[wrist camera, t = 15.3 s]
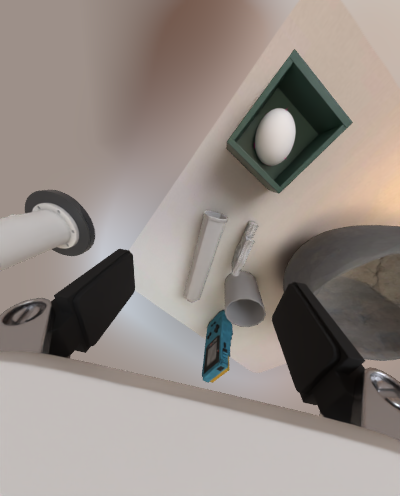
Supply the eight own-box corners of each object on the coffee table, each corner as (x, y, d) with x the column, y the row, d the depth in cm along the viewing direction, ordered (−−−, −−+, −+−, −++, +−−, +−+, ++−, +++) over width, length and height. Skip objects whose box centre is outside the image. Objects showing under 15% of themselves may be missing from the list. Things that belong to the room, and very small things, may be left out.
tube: (201, 306, 42) (231, 221, 30) (182, 306, 40) (206, 216, 29) (198, 292, 46) (223, 213, 35) (180, 291, 45) (201, 208, 33)
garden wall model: (248, 219, 34) (252, 227, 28) (256, 221, 34) (262, 230, 28) (230, 263, 39) (231, 276, 34) (236, 265, 39) (238, 279, 34)
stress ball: (275, 163, 31) (310, 157, 25) (244, 171, 28) (275, 166, 23) (275, 116, 28) (315, 97, 22) (241, 121, 25) (275, 101, 19)
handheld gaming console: (221, 308, 46) (220, 362, 33) (233, 313, 47) (236, 369, 33) (206, 325, 51) (199, 379, 37) (216, 330, 51) (213, 386, 38)
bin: (268, 190, 31) (279, 193, 25) (226, 148, 29) (226, 141, 23) (324, 134, 26) (353, 122, 20) (277, 79, 24) (294, 48, 18)
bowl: (428, 235, 30) (592, 284, 17) (338, 314, 41) (393, 381, 28) (313, 191, 30) (386, 205, 16) (253, 282, 41) (268, 335, 27)
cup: (220, 289, 43) (219, 318, 34) (232, 266, 40) (234, 293, 31) (248, 299, 43) (254, 331, 34) (262, 277, 40) (273, 307, 31)
